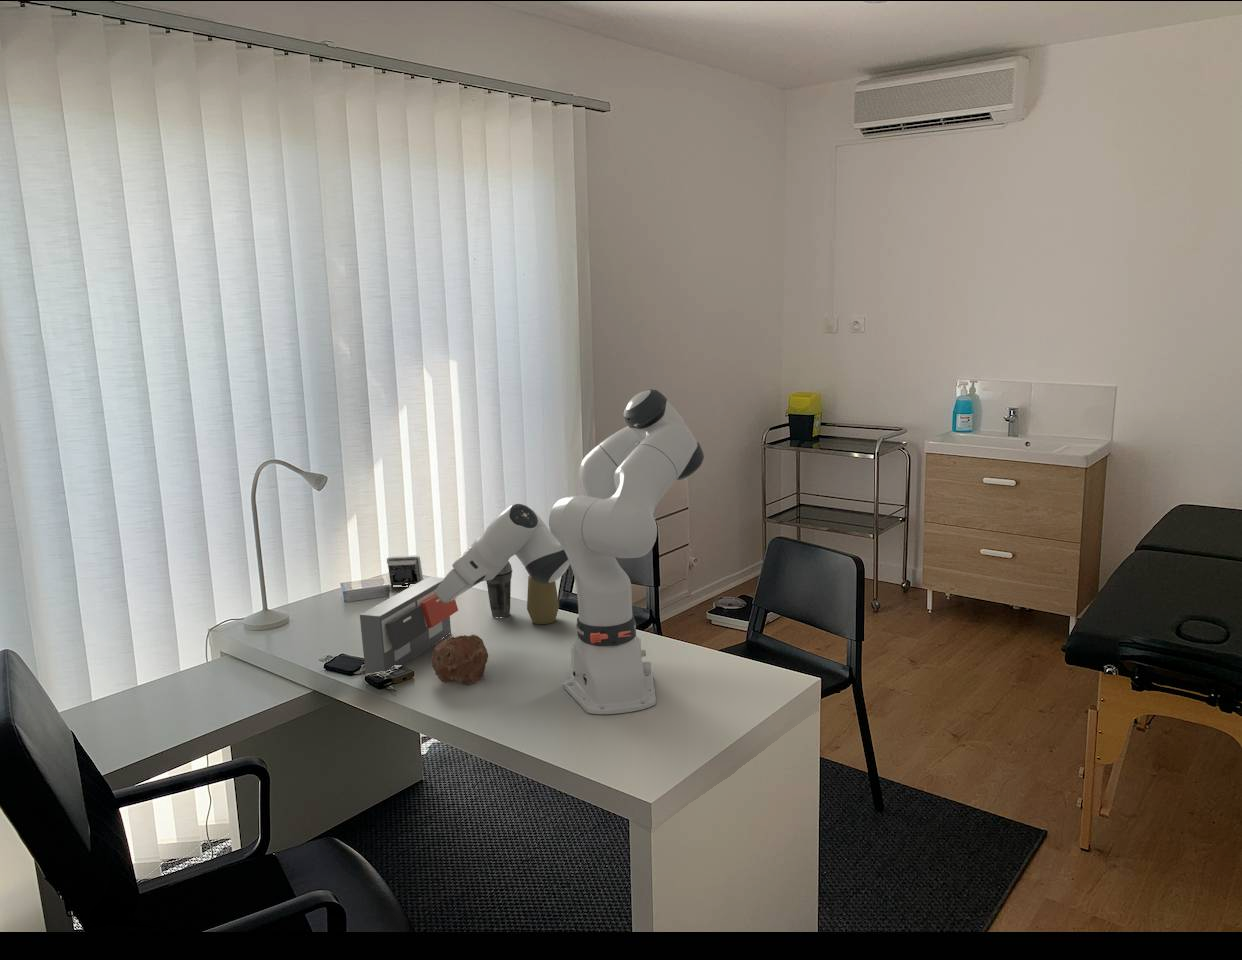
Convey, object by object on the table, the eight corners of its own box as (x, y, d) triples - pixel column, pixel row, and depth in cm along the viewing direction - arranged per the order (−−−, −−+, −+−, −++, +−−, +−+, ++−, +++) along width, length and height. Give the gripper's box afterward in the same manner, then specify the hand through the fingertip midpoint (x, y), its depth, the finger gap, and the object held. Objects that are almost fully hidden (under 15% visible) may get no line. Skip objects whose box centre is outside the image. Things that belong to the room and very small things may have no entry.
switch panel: (451, 633, 226) (447, 578, 223) (386, 678, 200) (380, 616, 197) (433, 631, 227) (428, 576, 225) (365, 675, 202) (359, 614, 199)
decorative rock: (454, 697, 189) (451, 650, 187) (419, 684, 196) (415, 639, 194) (501, 675, 199) (498, 631, 197) (465, 664, 206) (462, 621, 204)
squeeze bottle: (556, 627, 227) (552, 556, 224) (524, 626, 228) (519, 556, 225) (563, 615, 235) (559, 547, 232) (532, 615, 236) (528, 547, 233)
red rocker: (458, 610, 222) (451, 586, 222) (432, 627, 211) (424, 602, 211) (454, 611, 223) (447, 587, 222) (427, 628, 212) (420, 603, 211)
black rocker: (427, 630, 210) (420, 605, 209) (397, 649, 199) (390, 623, 198) (422, 631, 210) (415, 606, 209) (392, 650, 199) (385, 624, 198)
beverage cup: (517, 610, 241) (513, 535, 237) (512, 619, 233) (506, 543, 230) (490, 610, 241) (485, 536, 238) (483, 620, 234) (478, 543, 230)
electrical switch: (424, 582, 268) (420, 552, 265) (421, 590, 263) (417, 559, 261) (391, 584, 268) (387, 554, 265) (387, 591, 263) (384, 561, 260)
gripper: (494, 539, 220) (461, 576, 225) (451, 562, 201) (416, 602, 206) (512, 558, 219) (478, 595, 225) (471, 584, 201) (435, 623, 206)
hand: (448, 599), depth 215 cm, fingers closed
